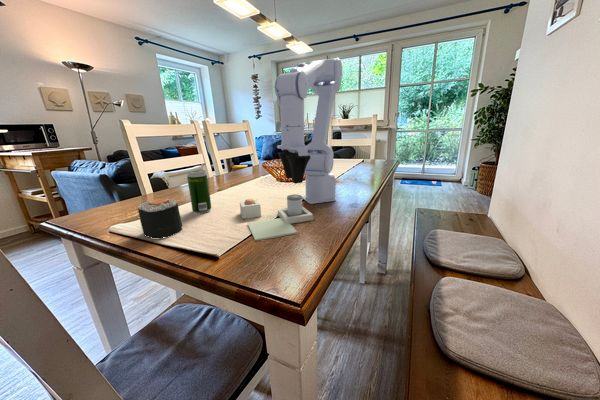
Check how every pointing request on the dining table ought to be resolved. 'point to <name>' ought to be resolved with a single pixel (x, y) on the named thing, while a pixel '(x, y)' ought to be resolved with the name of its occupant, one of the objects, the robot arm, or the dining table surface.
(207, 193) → the beer can
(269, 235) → the mat
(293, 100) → the robot arm
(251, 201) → the release button
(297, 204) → the cylinder
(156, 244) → the dining table surface
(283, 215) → the dock
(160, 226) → the sushi
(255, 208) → the button housing
